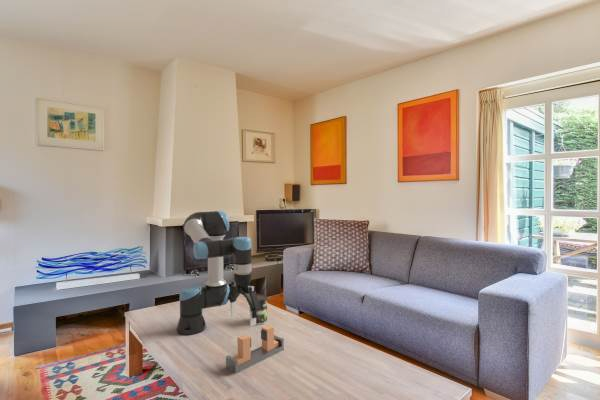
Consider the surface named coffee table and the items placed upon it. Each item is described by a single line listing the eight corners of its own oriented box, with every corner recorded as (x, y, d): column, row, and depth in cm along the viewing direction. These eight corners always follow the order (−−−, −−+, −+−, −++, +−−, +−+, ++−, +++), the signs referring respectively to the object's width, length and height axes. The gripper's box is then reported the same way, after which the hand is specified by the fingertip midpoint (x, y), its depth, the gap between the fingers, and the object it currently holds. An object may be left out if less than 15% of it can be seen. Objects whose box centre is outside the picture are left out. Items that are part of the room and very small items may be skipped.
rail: (226, 367, 144) (225, 356, 143) (273, 344, 164) (273, 334, 164) (235, 373, 139) (235, 361, 139) (283, 349, 159) (283, 339, 159)
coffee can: (269, 318, 198) (269, 295, 197) (264, 325, 188) (264, 300, 187) (253, 317, 200) (252, 294, 199) (247, 324, 190) (246, 299, 189)
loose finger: (232, 362, 144) (231, 339, 144) (246, 355, 150) (246, 333, 149) (237, 365, 141) (237, 342, 141) (252, 358, 147) (251, 336, 147)
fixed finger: (260, 349, 156) (260, 328, 156) (272, 343, 162) (272, 323, 161) (266, 351, 153) (265, 330, 153) (278, 345, 159) (278, 325, 158)
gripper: (219, 269, 151) (219, 315, 152) (254, 280, 134) (254, 331, 135) (232, 266, 156) (233, 310, 157) (268, 276, 139) (268, 326, 140)
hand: (243, 320), depth 146 cm, fingers open, 13 cm apart
